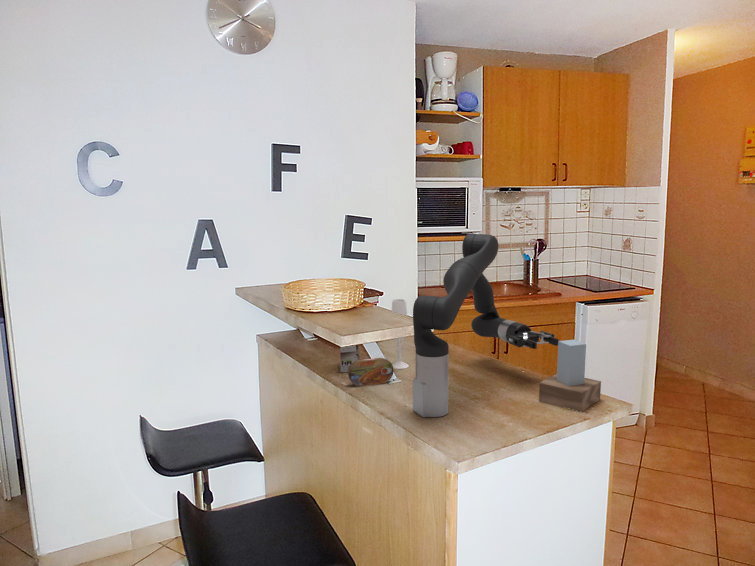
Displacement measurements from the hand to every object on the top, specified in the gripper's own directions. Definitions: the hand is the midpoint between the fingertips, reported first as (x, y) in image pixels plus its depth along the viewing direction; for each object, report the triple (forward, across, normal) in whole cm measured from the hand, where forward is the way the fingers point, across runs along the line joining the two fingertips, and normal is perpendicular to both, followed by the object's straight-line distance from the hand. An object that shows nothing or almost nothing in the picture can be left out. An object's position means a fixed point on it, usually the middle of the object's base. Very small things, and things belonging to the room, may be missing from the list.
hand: (546, 344), depth 177 cm
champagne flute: (-42, -30, +15) cm, 54 cm away
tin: (-29, -47, +15) cm, 57 cm away
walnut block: (+11, 0, +15) cm, 18 cm away
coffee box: (-47, -47, +15) cm, 69 cm away
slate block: (+11, 0, +9) cm, 14 cm away
